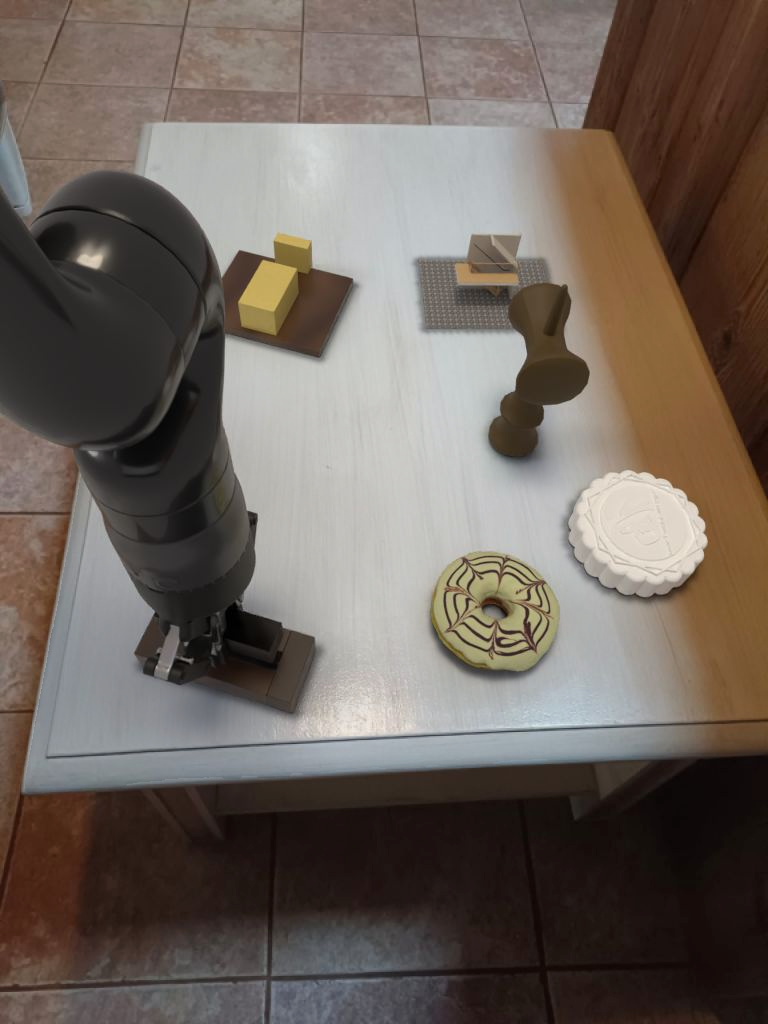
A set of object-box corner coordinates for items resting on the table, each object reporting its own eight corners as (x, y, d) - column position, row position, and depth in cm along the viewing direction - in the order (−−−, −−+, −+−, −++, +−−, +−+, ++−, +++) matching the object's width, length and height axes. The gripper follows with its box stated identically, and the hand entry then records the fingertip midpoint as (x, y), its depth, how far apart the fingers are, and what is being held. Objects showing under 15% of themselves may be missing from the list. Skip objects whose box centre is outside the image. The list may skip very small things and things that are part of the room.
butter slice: (275, 266, 83) (273, 240, 80) (279, 257, 84) (277, 232, 81) (308, 274, 83) (307, 249, 80) (312, 265, 84) (311, 240, 81)
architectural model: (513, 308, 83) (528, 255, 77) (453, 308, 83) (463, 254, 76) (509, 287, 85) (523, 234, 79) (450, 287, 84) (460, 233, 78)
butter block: (241, 327, 78) (237, 302, 75) (265, 284, 81) (262, 259, 78) (276, 336, 78) (274, 311, 75) (298, 293, 81) (297, 268, 78)
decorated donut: (543, 693, 60) (554, 678, 57) (417, 660, 61) (421, 644, 57) (558, 582, 65) (569, 564, 62) (442, 554, 66) (447, 533, 63)
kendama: (486, 478, 71) (535, 328, 54) (478, 401, 76) (520, 242, 59) (547, 479, 71) (614, 330, 54) (535, 403, 76) (593, 245, 59)
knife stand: (142, 666, 59) (133, 653, 56) (171, 606, 62) (164, 591, 59) (292, 713, 58) (290, 702, 55) (315, 650, 61) (315, 637, 58)
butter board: (197, 325, 79) (196, 318, 78) (240, 256, 85) (239, 249, 84) (319, 357, 78) (319, 351, 77) (353, 285, 84) (353, 278, 83)
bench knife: (174, 656, 59) (152, 616, 52) (187, 630, 61) (167, 587, 54) (278, 688, 59) (270, 652, 51) (288, 661, 60) (282, 622, 53)
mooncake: (557, 486, 71) (567, 465, 68) (676, 486, 72) (691, 465, 68) (579, 599, 64) (591, 581, 61) (709, 597, 65) (727, 580, 62)
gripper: (174, 420, 45) (214, 551, 60) (60, 617, 38) (137, 710, 53) (287, 452, 45) (299, 576, 59) (192, 659, 37) (233, 742, 52)
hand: (222, 639), depth 56 cm, fingers closed on bench knife, 2 cm apart
